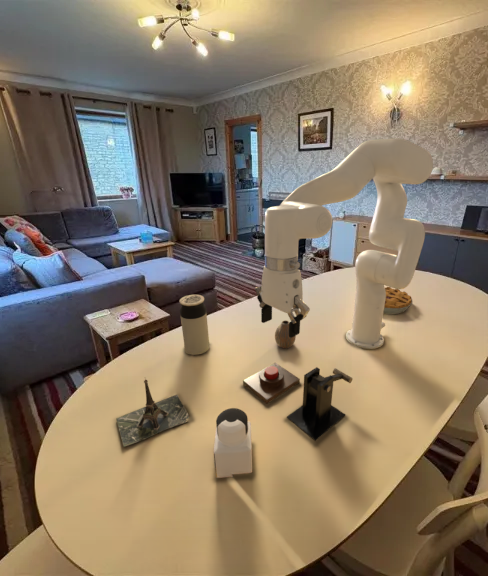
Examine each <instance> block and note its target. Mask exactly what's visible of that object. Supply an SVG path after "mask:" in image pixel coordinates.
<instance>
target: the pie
mask: <svg viewBox="0 0 488 576" xmlns="http://www.w3.org/2000/svg"><path fill="white" fill-rule="evenodd" d="M385 291H386V299H385V305H384V312H383V314H385V315H398V314H402V313H404V312H406V310H408V308H409V307H410V306H412V305H413V298H412V296H411V295H409V294H408V292H406V291H402V290H401V289H395V288H392V287H389V286H385Z"/></svg>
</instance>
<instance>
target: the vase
mask: <svg viewBox="0 0 488 576" xmlns="http://www.w3.org/2000/svg"><path fill="white" fill-rule="evenodd" d="M289 322H290V321H289V320H282V321H281V322H280V324H279V326H277V327H276V330H275V332H274V340H275V344H277V346H279V347H280V348H282V349H289V348H292V347H293V345H294V344H295V342H296V337H297V335H296V336H294V337H292V338H291V337H289Z"/></svg>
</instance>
